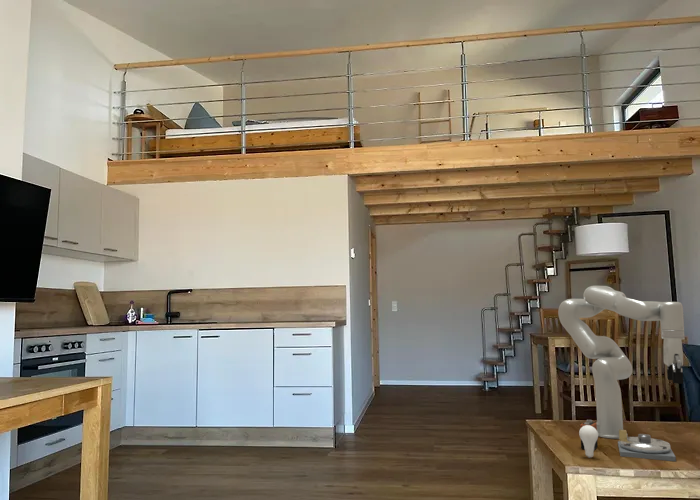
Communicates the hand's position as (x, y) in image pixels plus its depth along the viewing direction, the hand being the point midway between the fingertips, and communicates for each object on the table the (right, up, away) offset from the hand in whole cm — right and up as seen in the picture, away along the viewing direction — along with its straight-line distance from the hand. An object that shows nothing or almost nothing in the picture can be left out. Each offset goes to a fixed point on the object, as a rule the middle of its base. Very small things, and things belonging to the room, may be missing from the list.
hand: (675, 381), depth 203 cm
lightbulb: (-37, -24, -12) cm, 45 cm away
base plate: (-14, -25, -5) cm, 29 cm away
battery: (-31, -25, +1) cm, 40 cm away
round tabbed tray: (-14, -23, -5) cm, 27 cm away
